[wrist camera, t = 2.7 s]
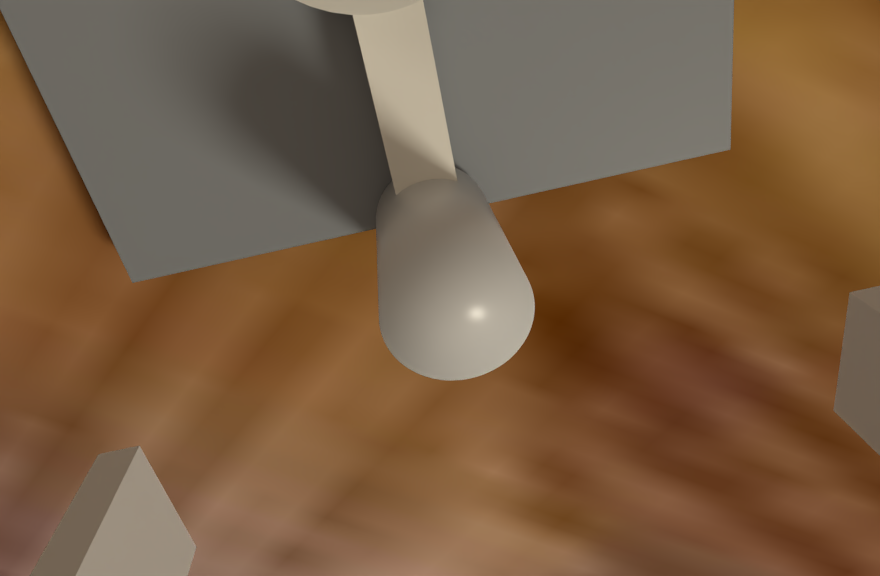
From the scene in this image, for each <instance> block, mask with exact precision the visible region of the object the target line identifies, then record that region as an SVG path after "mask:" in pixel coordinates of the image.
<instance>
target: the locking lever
mask: <svg viewBox="0 0 880 576" xmlns="http://www.w3.org/2000/svg"><path fill="white" fill-rule="evenodd" d="M296 1H299V2H301V3H303V4H306V5H308V6H310V7H314V8H317V9H321V10H325V11H328V12H333V13H341V14H348V15H353V19H354V23H355V27H356V31H357V36H358V40H359V44H360V48H361V52H362V56H363V61H364V65H365V69H366V73H367V77H368V81H369V85H370V90H371V94H372V98H373V102H374V106H375V110H376V114H377V119H378V123H379V127H380V131H381V135H382V139H383V144H384V148H385V152H386V156H387V160H388V164H389V168H390V173H391V177H392V181H391V182H390V183H389V185H388V186H387V187H386V189H385V190H384V192H383V194H382V195H381V197H380V200H379V203H378V206H377V211H376V238H377V270H378V302H379V325H380V330H381V334H382V337H383V339H384V342H385V344H386V345H387V347H388V349H389V350H390V352H391V353H392V354H393V356H394V357H395V358H396V359H397V360H398V361H399V362H400V363H402V364H403V365H404V366H406V367H407V368H409V369H410V370H412V371H414V372H416V373H418V374H421V375H423V376H426V377H430V378H433V379H439V380H464V379H470V378H474V377H477V376H481V375H483V374H486V373H488V372H490V371H492V370H494V369H496V368H498V367H499V366H501V365H502V364H504V363H505V362H506V361H508V360H509V359H510V358H511V357H512V356H513V355H514V354H515V353H516V352H517V351H518V350H519V349H520V347H521V346H522V344H523V343H524V342H525V340H526V338H527V336H528V334H529V332H530V329H531V326H532V323H533V319H534V310H535V304H534V296H533V291H532V288H531V286H530V283H529V281H528V279H527V277H526V275H525V273H524V271H523V269H522V267H521V265H520V263H519V261H518V259H517V258H516V256H515V254H514V252H513V250H512V248H511V246H510V244H509V242H508V240H507V238H506V236H505V234H504V232H503V231H502V229H501V227H500V225H499V223H498V221H497V219H496V217H495V215H494V213H493V211H492V209H491V207H490V205H489V204H488V202H487V200H486V198H485V196H484V194H483V192H482V190H481V189H480V187H479V186H478V184H477V183H476V182H475V181H474V180H473V179H472V178H471V177H470V176H469V175H467V174H466V173H465V172H463V171H461V170H459V169H457V168H455V166H454V160H453V155H452V150H451V145H450V139H449V134H448V129H447V124H446V118H445V113H444V108H443V102H442V97H441V92H440V87H439V81H438V76H437V71H436V66H435V60H434V55H433V50H432V45H431V39H430V34H429V29H428V23H427V18H426V13H425V8H424V2H423V0H296Z"/></svg>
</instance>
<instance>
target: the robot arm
mask: <svg viewBox="0 0 880 576" xmlns="http://www.w3.org/2000/svg"><path fill="white" fill-rule="evenodd" d="M834 411H835V412H836V413H837V414H838V415H839V416H840V417H841V418H842V419H843V420H844V421H845V422H846V423H847V424H848V425H849V426H850V427H851V428H852V429H853V430H854V431H855V432H856V433H857V434H858V435H859V436H860V437H861V438H862V439H863V440H864V441H865V442H866V443H867V444H868V445H870V446H871V447H872V448H873V449H874V450H875V451H876V452H877V453H878V454H879V455H880V286H877V287H873V288H868V289H863V290H859V291H854V292H850V294H849V302H848V309H847V316H846V324H845V331H844V338H843V346H842V353H841V360H840V368H839V375H838V382H837V390H836V397H835V404H834ZM195 550H196V545H195V544H194V542H193V540H192V538H191V536H190V535H189V533H188V531H187V529H186V528H185V526H184V524H183V522H182V520H181V519H180V517H179V515H178V513H177V512H176V510H175V508H174V506H173V504H172V503H171V501H170V499H169V497H168V496H167V494H166V492H165V490H164V488H163V487H162V485H161V483H160V481H159V480H158V478H157V476H156V474H155V472H154V471H153V469H152V467H151V465H150V464H149V462H148V460H147V458H146V456H145V455H144V453H143V451H142V449H141V448H140V446H136V447H131V448H126V449H122V450H117V451H112V452H108V453H103V454H98V456H97V458H96V460H95V462H94V463H93V465H92V467H91V469H90V470H89V472H88V474H87V476H86V477H85V479H84V481H83V483H82V484H81V486H80V488H79V490H78V492H77V493H76V495H75V497H74V499H73V500H72V502H71V504H70V506H69V507H68V509H67V511H66V513H65V515H64V516H63V518H62V520H61V522H60V523H59V525H58V527H57V529H56V530H55V532H54V534H53V536H52V538H51V539H50V541H49V543H48V545H47V546H46V548H45V550H44V552H43V553H42V555H41V557H40V559H39V561H38V562H37V564H36V566H35V568H34V569H33V571H32V573H31V575H30V576H188V573H189V569H190V566H191V563H192V560H193V556H194V553H195Z"/></svg>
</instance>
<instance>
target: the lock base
mask: <svg viewBox="0 0 880 576" xmlns="http://www.w3.org/2000/svg"><path fill="white" fill-rule="evenodd" d="M423 2H424V8H425V13H426V18H427V23H428V29H429V34H430V39H431V45H432V50H433V55H434V60H435V66H436V71H437V76H438V81H439V87H440V92H441V97H442V102H443V108H444V113H445V118H446V124H447V129H448V134H449V139H450V145H451V150H452V155H453V160H454V166H455V168H457V169H459V170H461V171H463V172H465V173H466V174H467V175H469V176H470V177H471V178H472V179H473V180H474V181H475V182H476V183H477V184H478V186H479V187H480V189H481V190H482V192H483V194H484V196H485V198H486V200H487V202H488V203H492V202H497V201H501V200H506V199H510V198H515V197H519V196H524V195H528V194H533V193H537V192H542V191H546V190H551V189H555V188H560V187H564V186H569V185H573V184H578V183H582V182H587V181H591V180H596V179H600V178H604V177H609V176H613V175H618V174H622V173H627V172H631V171H636V170H640V169H645V168H649V167H654V166H658V165H663V164H667V163H672V162H676V161H681V160H685V159H690V158H694V157H699V156H703V155H708V154H712V153H717V152H721V151H725V150H730V143H731V102H732V60H733V19H734V0H423ZM0 10H1V12H2V14H3V16H4V18H5V20H6V22H7V24H8V26H9V29H10V31H11V33H12V35H13V37H14V39H15V41H16V43H17V45H18V47H19V49H20V51H21V53H22V55H23V57H24V60H25V62H26V64H27V66H28V68H29V70H30V72H31V74H32V76H33V78H34V80H35V82H36V84H37V86H38V88H39V90H40V93H41V95H42V97H43V99H44V101H45V103H46V105H47V107H48V109H49V111H50V113H51V115H52V117H53V119H54V121H55V124H56V126H57V128H58V130H59V132H60V134H61V136H62V138H63V140H64V142H65V144H66V146H67V148H68V150H69V152H70V155H71V157H72V159H73V161H74V163H75V165H76V167H77V169H78V171H79V173H80V175H81V177H82V179H83V181H84V183H85V185H86V188H87V190H88V192H89V194H90V196H91V198H92V200H93V202H94V204H95V206H96V208H97V210H98V212H99V214H100V216H101V219H102V221H103V223H104V225H105V227H106V229H107V231H108V233H109V235H110V237H111V239H112V241H113V243H114V245H115V247H116V250H117V252H118V254H119V256H120V258H121V260H122V262H123V264H124V266H125V268H126V270H127V272H128V274H129V276H130V278H131V281H132V283H134V282H138V281H143V280H147V279H152V278H156V277H161V276H165V275H170V274H174V273H179V272H183V271H188V270H192V269H197V268H201V267H206V266H210V265H215V264H219V263H224V262H228V261H232V260H237V259H241V258H246V257H250V256H255V255H259V254H264V253H268V252H273V251H277V250H282V249H286V248H291V247H295V246H300V245H304V244H309V243H313V242H318V241H322V240H327V239H331V238H336V237H340V236H345V235H349V234H353V233H358V232H362V231H367V230H371V229H376V211H377V206H378V203H379V200H380V197H381V195H382V194H383V192H384V190H385V189H386V187H387V186H388V185H389V183H390V182H391V181H392V177H391V173H390V168H389V164H388V160H387V156H386V152H385V148H384V144H383V139H382V135H381V131H380V127H379V123H378V119H377V114H376V110H375V106H374V102H373V98H372V94H371V90H370V85H369V81H368V77H367V73H366V69H365V65H364V61H363V56H362V52H361V48H360V44H359V40H358V36H357V31H356V27H355V23H354V19H353V15H348V14H341V13H333V12H328V11H325V10H321V9H317V8H314V7H310V6H308V5H306V4H303V3H301V2H299V1H296V0H0Z"/></svg>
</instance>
